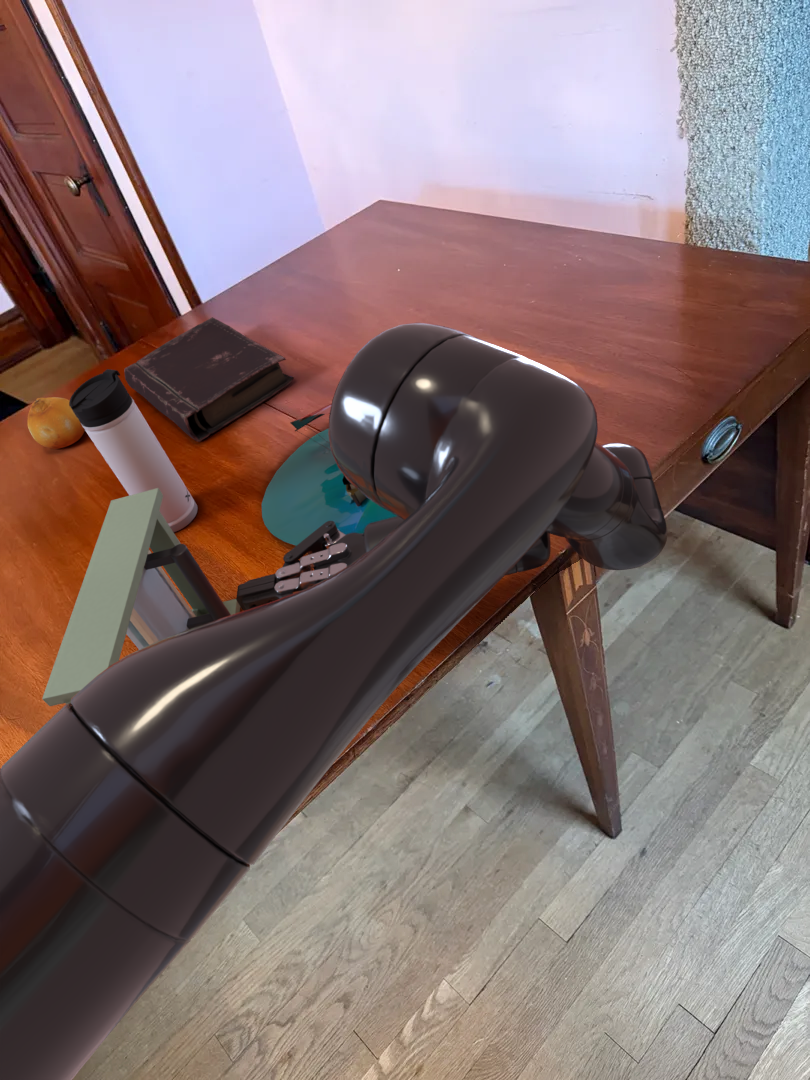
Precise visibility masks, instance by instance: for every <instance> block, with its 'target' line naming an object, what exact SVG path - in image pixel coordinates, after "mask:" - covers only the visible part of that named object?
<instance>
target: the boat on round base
mask: <svg viewBox="0 0 810 1080" xmlns="http://www.w3.org/2000/svg"><path fill="white" fill-rule="evenodd" d="M331 405H332V402H331V403H329V404H327V405H325V406H322V407H320V408H318V409H317V410H314V411H312V412H310V413H308V414H305V415H304V416H301V417H299V418H297V419H294V420H292V421H290V422H289V424H290V425H292V426H293V427H294V429H295V430H294V432H298V433H299V434H301V435H303V436H305V437H306V438H307V440H305V442H303V443H302V444H301V445H300V446H299V447H298V448H297V449H296V450H295V451H294V452H292V453H291V454H290V456H289V457H287V459H286V460H285V461H284V462H283V463H282V464H281V466H280V467H279V468H278V469H277V470H276V472H275V473H274V475H273V477H272V478H271V479H270V481H269V483H268V485H267V486H266V489H265V492H264V495H263V498H262V501H261V518H262V521H263V523H264V526H265V527H266V529H267V530H268V532H269V533H270V534H272V535H273V536H274V537H275V538H277V539H278V540H281V541H282V542H283V543H287V544H290V545H293V546H294V547H295V546H297V545H298V544H299V543H300V542H302V541H303V540H304V539H305V538H307V537H308V536H309V535H310V534H312V533H313V532H314V531H316V530H317V529H318V528H319V527H321V526H322V525H323V524H324V523H326V522H328V521H334V522H335V524H336V526H337V529H338V530H339V531H340V532H342V533H344V534H345V535H346V534H349V533H364V529H365V527H366V526H367V525H368V524H369V523H373V522H376V521H380V520H384V519H388V518H392V517H396V515H395V514H393V513H392V512H390V511H388V510H386V509H384V508H382V507H381V506H379V505H377V504H376V503H374V502H373V501H371V500H370V499H369V498H367V497H366V496H365V495H364V494H362V493H361V492H360V491H359V490H358V489H357V488H356V487H354V486H353V485H352V484H351V483H350V482H349V481H348V480H347V479H346V477H345V476H344V475H343V473H342V472H341V470H340V469H339V467H338V466H337V464H336V461H335V459H334V456H333V454H332V451H331V446H330V440H329V434H328V432H329V427H328V428H326V429H324V430H322V431H320V432H318V433H317V432H316V431H314V430H313V429H312V428H311V427H309V429H310V430H312V431H313V432H314V433H316V434H314V435H313V436H311V437H309V436H307V435H305V434H303V433H301V432H300V431H298V430H301V429H302V428H303V427H305V426H306V427H308V425H309V424H310V423H312V422H313V421H316V420H317V419H319V418H320V417H321V418H322V417H323V416H325V415H330V410H331Z"/></svg>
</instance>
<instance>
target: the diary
mask: <svg viewBox="0 0 810 1080" xmlns="http://www.w3.org/2000/svg"><path fill="white" fill-rule="evenodd" d="M286 360H287V358H286V357H284V355H283V356H282V355H281V354H279V353H277V352H275V351H274V350H272V349H270V348H268V347H266V346H264V345H263V344H260V343H258V342H256V341H255V340H253V339H251V338H249V337H247V336H246V335H244V334H242V333H241V332H239V331H238V330H237V329H235V328H233V327H232V326H230V325H228V324H226V323H225V322H223V321H220V320H219V319H217V318H215V317H214V316H212V317H210V318H208V319H206V320H204V321H202V322H201V323H199V324H196V325H195V326H194V327H192V328H190V329H187V330H186V331H185V332H182V333H180V334H179V335H176V336H175V337H174V338H172V339H170V340H169V341H166V342H165V343H164V344H162V345H161V346H158V347H157V348H155V349H154V350H152V351H151V352H149V353H148V354H146V355H144V356H143V357H141V358H140V359H138V360H137V361H135V362H134V363H132V364H130V365H128V366H126V367H125V368H124V370H123V371H124V379H125V381H126V383H127V385H128V386H129V387H130V388H131V389H132V390H134V391H135V392H136V393H138V394H139V395H140V396H142V397H143V398H144V399H145V400H146V401H147V402H149V403H150V405H152V406H153V407H154V408H155V409H156V410H157V411H158V412H160V413H161V414H162V415H164V416H165V417H166V418H168V419H169V420H170V421H172V422H173V423H174V424H175V425H176V426H177V427H179V429H180V430H181V431H183V432H184V433H185V434H186V435H187V436H189V438H191V439H193V440H194V442H195V441H196V442H198V443H201V442H202V441H203V440H205V439H206V438H208V437H209V436H210V435H211V434H212V435H213V434H214V433H216V432H217V431H219V430H221V429H222V428H223V427H225V426H227V425H229V424H231V422H233V421H235V420H237V419H238V418H240V417H242V416H243V415H245V414H246V413H248V412H249V411H251V410H252V409H254V408H256V407H257V406H259V405H261V404H262V403H264V402H265V401H267V400H269V399H270V398H271V397H273V396H274V395H276V394H277V393H279V392H280V391H281V390H283V389H284V388H285V387H287V386H289V385H290V384H291V383H292V381H293V380H294V378H295V377H294V376H290V375H288V374H286V373H284V372H283V370H282V368H281V365H280V362H284V361H286Z"/></svg>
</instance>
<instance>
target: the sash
mask: <svg viewBox="0 0 810 1080" xmlns="http://www.w3.org/2000/svg"><path fill="white" fill-rule="evenodd" d="M190 551H191V550H189V548H188V547H187V545H186V544H184V543H181V544H178V545H176V546H174V547H173V548H170V549H166V550H162V551H159V552H155V553H153V552H152V551H151V549H149V551H148V554H147V558H146V562H145V566H144V569H143V573H142V577H141V580H140V584H139V588H138V592H137V595H136V599H135V603H134V606H133V610H132V614H131V618H130V621H131V622H132V624H133V625H134V626H135V627H136V629H137V630H138V631H139V632H140V634H141V635H142V636H143V637H144V639H145V640H146V641H147V642H148V644H149V645H151V644H153V643H155V642H157V641H160V640H162V639H165V638H167V637H170V636H173V635H175V634H178V633H181V632H183V631H186V630H188V629H191V628H194V627H197V626H200V625H203V624H206V623H209V622H211V621H214V620H217V619H220V618H223V617H226V616H230V615H231V614H230V613H229V611H228V610H227V608H226V607H225V605H224V604H223V602H224V601H223V600H222V599H221V597H220V596H219V594H218V593H217V591H216V589H215V588H214V587H213V585H212V584H211V582H210V580H209V579H208V578H207V576H206V574H205V573H204V571H203V570H202V568H201V567H200V565H199V563H198V561H196V559H195V557H194V555H193V554H192V553H191V552H190ZM172 563H176V565H177V566H178V568H179V569H180V571H181V572H182V574H183V575H184V577H185V578H186V580H187V581H188V583H189V584H190V585H191V587H192V588H193V590H194V591H195V593H196V594H197V596H198V597H199V599H200V600H201V602H202V603H203V605H204V606H205V608H206V609H207V611H208V612H209V614H205V615H201V616H197V617H196V616H195V614H194V613H193V611H192V608H191V606H190V605H189V603H188V602H187V600H186V599H185V598H184V596H183V595H182V593H181V592H180V591H179V589H178V588H177V586H176V585H175V583H174V582H173V581H172V579H171V578H170V576H169V575H168V573H167V572H166V571H165V569H164V568H162V567H163V566H164V565H168V564H172Z"/></svg>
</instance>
